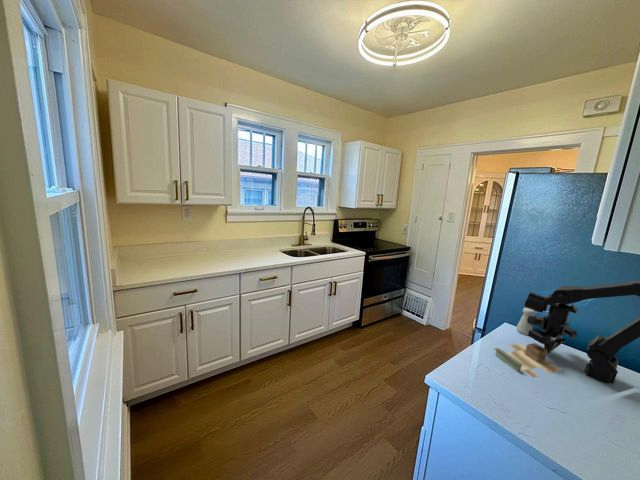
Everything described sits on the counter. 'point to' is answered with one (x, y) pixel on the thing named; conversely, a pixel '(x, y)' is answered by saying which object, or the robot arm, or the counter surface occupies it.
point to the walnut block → (536, 352)
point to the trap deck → (524, 360)
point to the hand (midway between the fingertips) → (547, 352)
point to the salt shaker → (525, 322)
